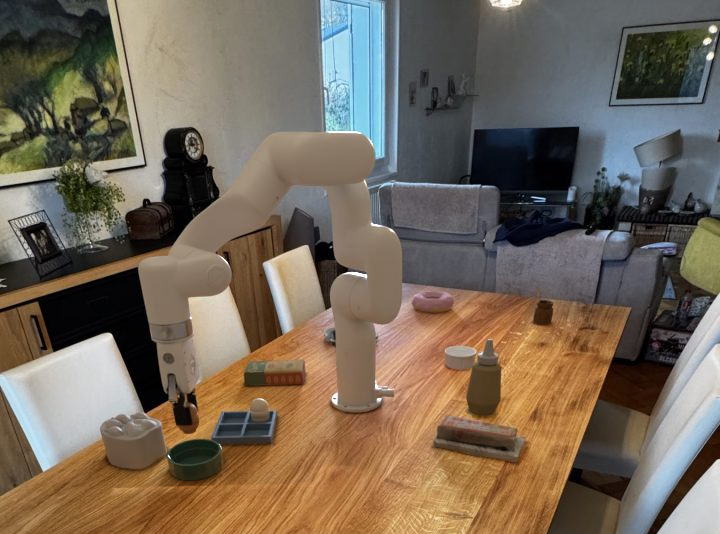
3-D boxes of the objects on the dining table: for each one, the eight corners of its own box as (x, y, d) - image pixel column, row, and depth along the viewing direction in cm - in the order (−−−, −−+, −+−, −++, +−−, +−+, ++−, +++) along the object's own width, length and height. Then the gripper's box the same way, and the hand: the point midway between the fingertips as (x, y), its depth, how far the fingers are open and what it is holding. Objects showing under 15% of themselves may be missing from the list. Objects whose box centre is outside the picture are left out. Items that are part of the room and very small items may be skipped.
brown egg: (202, 425, 116) (198, 398, 113) (198, 436, 113) (193, 407, 110) (181, 426, 117) (176, 398, 113) (176, 436, 113) (170, 408, 110)
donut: (410, 314, 206) (410, 300, 203) (412, 302, 219) (412, 289, 216) (454, 315, 203) (455, 301, 201) (453, 303, 216) (454, 289, 214)
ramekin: (440, 369, 161) (441, 354, 159) (447, 358, 168) (448, 344, 166) (472, 372, 158) (473, 357, 156) (477, 361, 165) (479, 347, 163)
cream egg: (271, 418, 137) (268, 394, 134) (269, 427, 133) (266, 402, 130) (253, 419, 137) (250, 395, 134) (250, 427, 133) (247, 403, 130)
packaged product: (432, 427, 121) (446, 408, 129) (431, 447, 124) (444, 427, 131) (519, 443, 114) (528, 422, 122) (516, 464, 117) (525, 442, 124)
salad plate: (315, 330, 193) (314, 317, 191) (366, 325, 196) (366, 312, 194) (327, 350, 177) (326, 335, 175) (382, 344, 180) (382, 329, 178)
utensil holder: (553, 325, 191) (559, 288, 184) (534, 325, 191) (540, 289, 184) (548, 319, 196) (554, 284, 189) (529, 320, 196) (534, 284, 190)
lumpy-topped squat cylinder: (139, 473, 118) (130, 436, 114) (95, 459, 124) (84, 424, 119) (173, 450, 126) (166, 415, 121) (130, 438, 131) (121, 404, 127)
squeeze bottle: (502, 407, 139) (511, 335, 130) (495, 421, 133) (504, 347, 124) (469, 402, 142) (476, 332, 133) (460, 415, 136) (467, 343, 127)
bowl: (227, 454, 124) (225, 438, 122) (218, 481, 114) (215, 464, 112) (177, 455, 124) (174, 439, 122) (164, 483, 115) (160, 466, 113)
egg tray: (277, 417, 138) (276, 410, 137) (271, 444, 127) (270, 436, 126) (222, 418, 139) (221, 411, 138) (212, 445, 127) (210, 438, 126)
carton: (303, 385, 154) (302, 370, 152) (244, 386, 155) (242, 371, 153) (305, 373, 162) (304, 358, 159) (249, 374, 162) (247, 360, 160)
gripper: (180, 344, 97) (197, 439, 106) (201, 314, 111) (214, 400, 120) (136, 345, 97) (157, 439, 106) (163, 315, 111) (179, 401, 121)
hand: (187, 418), depth 113 cm, fingers closed on brown egg, 4 cm apart
